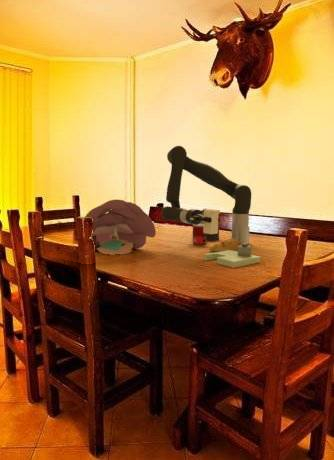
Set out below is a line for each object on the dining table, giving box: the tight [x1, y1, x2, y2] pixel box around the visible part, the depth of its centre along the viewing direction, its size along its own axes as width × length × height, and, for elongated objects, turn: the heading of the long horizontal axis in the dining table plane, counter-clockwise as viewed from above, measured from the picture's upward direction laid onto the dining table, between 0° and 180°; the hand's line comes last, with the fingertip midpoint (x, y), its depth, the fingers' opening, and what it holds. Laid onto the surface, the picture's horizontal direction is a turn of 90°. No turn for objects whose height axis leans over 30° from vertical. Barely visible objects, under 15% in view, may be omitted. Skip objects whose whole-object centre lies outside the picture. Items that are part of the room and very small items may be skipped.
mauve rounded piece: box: [84, 199, 157, 256], centre depth 179 cm, size 35×24×28 cm
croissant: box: [208, 237, 249, 253], centre depth 182 cm, size 21×10×8 cm, turn 106°
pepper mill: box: [200, 208, 220, 242], centre depth 220 cm, size 16×11×18 cm
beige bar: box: [203, 208, 221, 234], centre depth 165 cm, size 4×6×11 cm
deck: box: [203, 243, 261, 269], centre depth 159 cm, size 17×18×8 cm
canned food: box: [192, 224, 208, 246], centre depth 201 cm, size 8×8×11 cm
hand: (215, 219), depth 164 cm, fingers closed on beige bar, 4 cm apart
